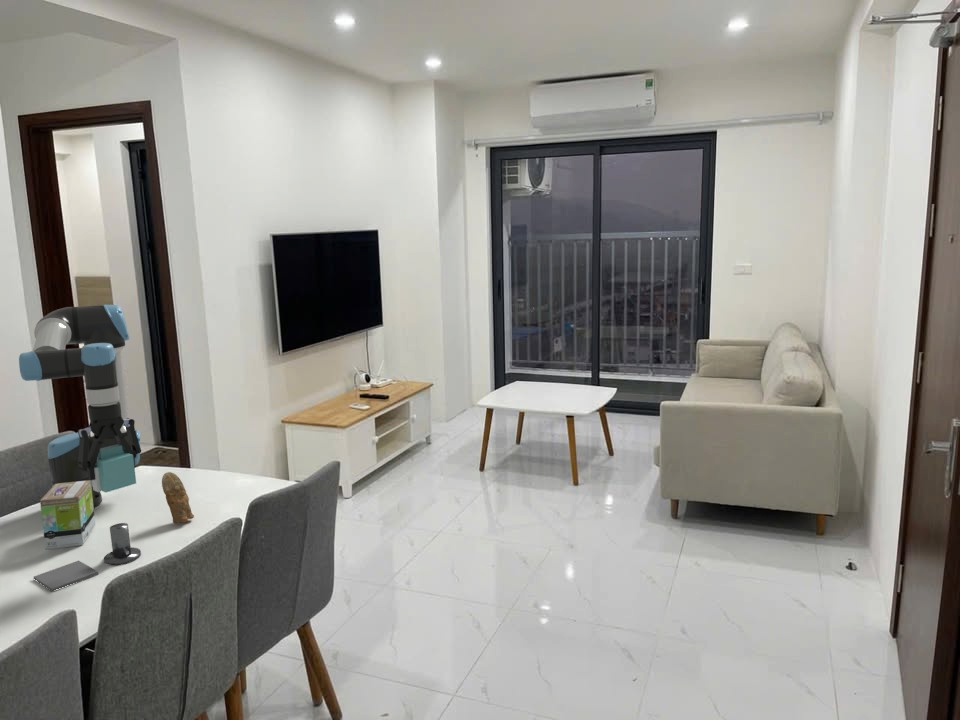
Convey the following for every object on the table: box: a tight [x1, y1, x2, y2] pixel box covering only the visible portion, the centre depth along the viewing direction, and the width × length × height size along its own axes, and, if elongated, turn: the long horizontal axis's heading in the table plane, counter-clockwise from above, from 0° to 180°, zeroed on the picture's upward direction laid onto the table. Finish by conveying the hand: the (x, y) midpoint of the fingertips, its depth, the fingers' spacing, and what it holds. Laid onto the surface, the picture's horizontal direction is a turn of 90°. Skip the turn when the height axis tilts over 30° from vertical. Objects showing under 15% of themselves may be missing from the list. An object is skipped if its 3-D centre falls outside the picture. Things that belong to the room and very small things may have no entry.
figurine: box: [161, 471, 195, 524], centre depth 215 cm, size 8×8×15 cm
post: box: [103, 522, 142, 566], centre depth 191 cm, size 9×9×9 cm
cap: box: [91, 444, 137, 493], centre depth 187 cm, size 8×8×10 cm
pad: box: [33, 559, 99, 592], centre depth 181 cm, size 11×11×1 cm
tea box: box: [39, 480, 96, 550], centre depth 204 cm, size 15×10×15 cm
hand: (114, 485), depth 188 cm, fingers closed on cap, 8 cm apart
